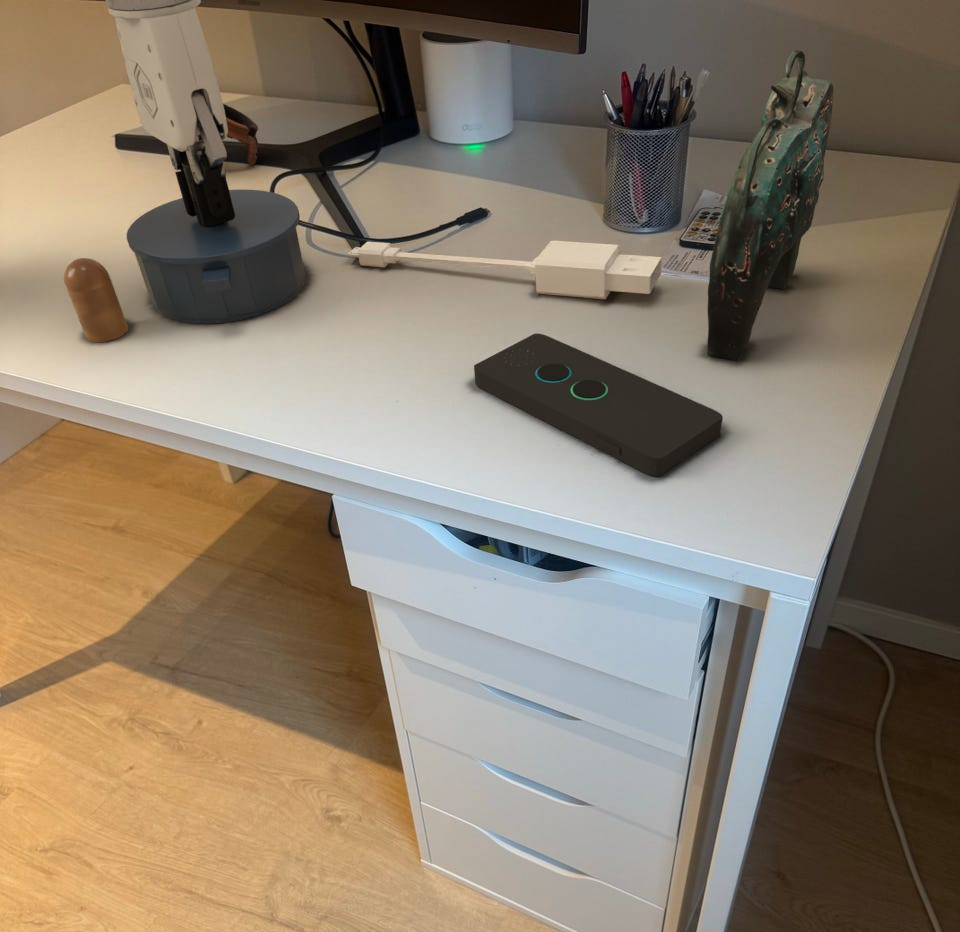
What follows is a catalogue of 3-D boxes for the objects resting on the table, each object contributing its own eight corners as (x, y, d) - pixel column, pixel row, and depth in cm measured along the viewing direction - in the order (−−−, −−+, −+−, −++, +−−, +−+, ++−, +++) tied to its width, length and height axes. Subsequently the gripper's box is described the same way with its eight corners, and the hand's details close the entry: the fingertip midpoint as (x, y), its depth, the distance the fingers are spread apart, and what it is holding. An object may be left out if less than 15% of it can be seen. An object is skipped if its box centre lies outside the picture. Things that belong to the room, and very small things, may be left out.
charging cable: (365, 258, 97) (359, 226, 95) (661, 281, 86) (663, 246, 84) (343, 278, 94) (336, 246, 92) (647, 304, 83) (649, 268, 81)
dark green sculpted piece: (750, 262, 89) (788, 22, 75) (817, 272, 87) (869, 27, 72) (684, 356, 77) (715, 93, 63) (759, 371, 75) (809, 101, 61)
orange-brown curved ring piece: (196, 156, 122) (213, 93, 118) (258, 192, 123) (277, 131, 119) (150, 162, 112) (167, 93, 108) (218, 202, 113) (237, 135, 109)
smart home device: (538, 329, 79) (728, 412, 68) (539, 347, 80) (724, 432, 69) (468, 365, 75) (656, 460, 64) (470, 384, 76) (654, 480, 65)
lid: (124, 282, 82) (97, 205, 77) (135, 214, 93) (113, 143, 88) (306, 256, 84) (291, 179, 79) (295, 192, 95) (282, 122, 90)
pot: (146, 347, 84) (124, 285, 80) (157, 256, 99) (139, 200, 94) (312, 322, 86) (300, 260, 82) (299, 236, 100) (287, 180, 96)
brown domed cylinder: (83, 345, 85) (54, 272, 80) (88, 325, 88) (59, 254, 83) (126, 338, 86) (100, 265, 81) (129, 319, 88) (104, 247, 83)
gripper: (72, -18, 77) (143, 205, 91) (144, 10, 68) (211, 254, 81) (154, -33, 80) (211, 185, 93) (234, -9, 71) (285, 230, 84)
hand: (211, 215), depth 87 cm, fingers closed on lid, 2 cm apart
